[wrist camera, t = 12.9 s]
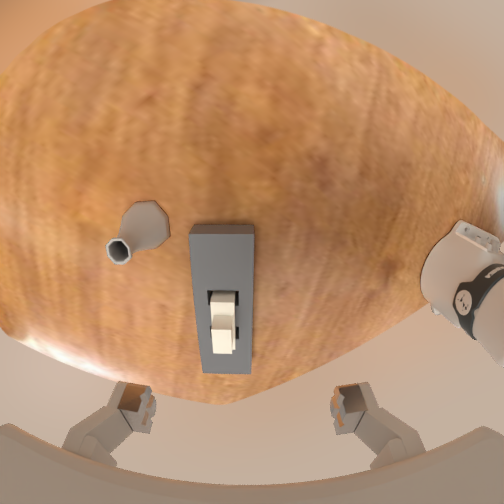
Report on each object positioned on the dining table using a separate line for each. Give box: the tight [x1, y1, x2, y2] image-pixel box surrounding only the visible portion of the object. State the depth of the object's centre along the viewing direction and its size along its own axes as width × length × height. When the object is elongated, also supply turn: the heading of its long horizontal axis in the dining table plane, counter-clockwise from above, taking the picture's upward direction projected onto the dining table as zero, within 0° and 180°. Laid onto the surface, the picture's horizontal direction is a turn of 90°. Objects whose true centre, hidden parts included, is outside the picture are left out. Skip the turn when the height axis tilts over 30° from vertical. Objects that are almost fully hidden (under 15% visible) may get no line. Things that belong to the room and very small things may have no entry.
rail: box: [189, 225, 254, 374], centre depth 40 cm, size 8×24×4 cm, turn 179°
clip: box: [210, 290, 236, 354], centre depth 37 cm, size 3×8×10 cm, turn 179°
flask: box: [105, 201, 170, 264], centre depth 32 cm, size 7×7×10 cm
